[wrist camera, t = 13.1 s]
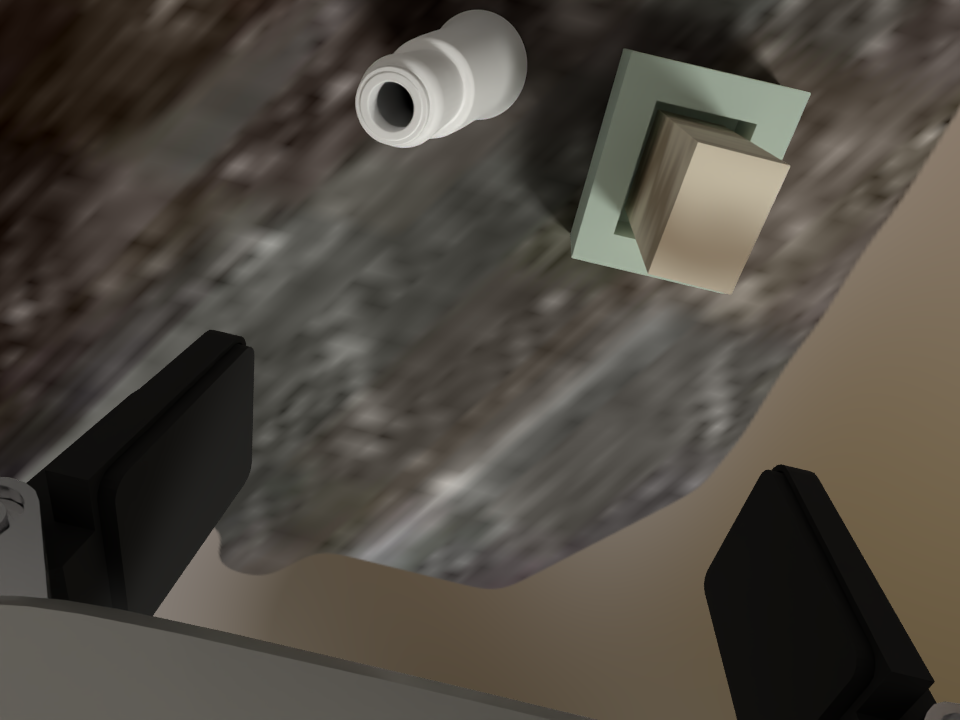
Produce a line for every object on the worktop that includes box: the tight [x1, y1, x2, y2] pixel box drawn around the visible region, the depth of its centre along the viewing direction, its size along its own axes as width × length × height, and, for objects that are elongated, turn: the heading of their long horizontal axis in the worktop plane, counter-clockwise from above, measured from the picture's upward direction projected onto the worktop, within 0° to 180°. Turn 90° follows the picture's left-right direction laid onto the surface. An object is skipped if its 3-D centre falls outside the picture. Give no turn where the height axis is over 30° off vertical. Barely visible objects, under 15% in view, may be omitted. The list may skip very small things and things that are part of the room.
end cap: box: [570, 48, 811, 294], centre depth 37 cm, size 12×10×5 cm
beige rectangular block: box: [625, 109, 790, 295], centre depth 32 cm, size 6×4×12 cm, turn 168°
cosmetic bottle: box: [355, 10, 527, 148], centre depth 28 cm, size 6×6×22 cm
